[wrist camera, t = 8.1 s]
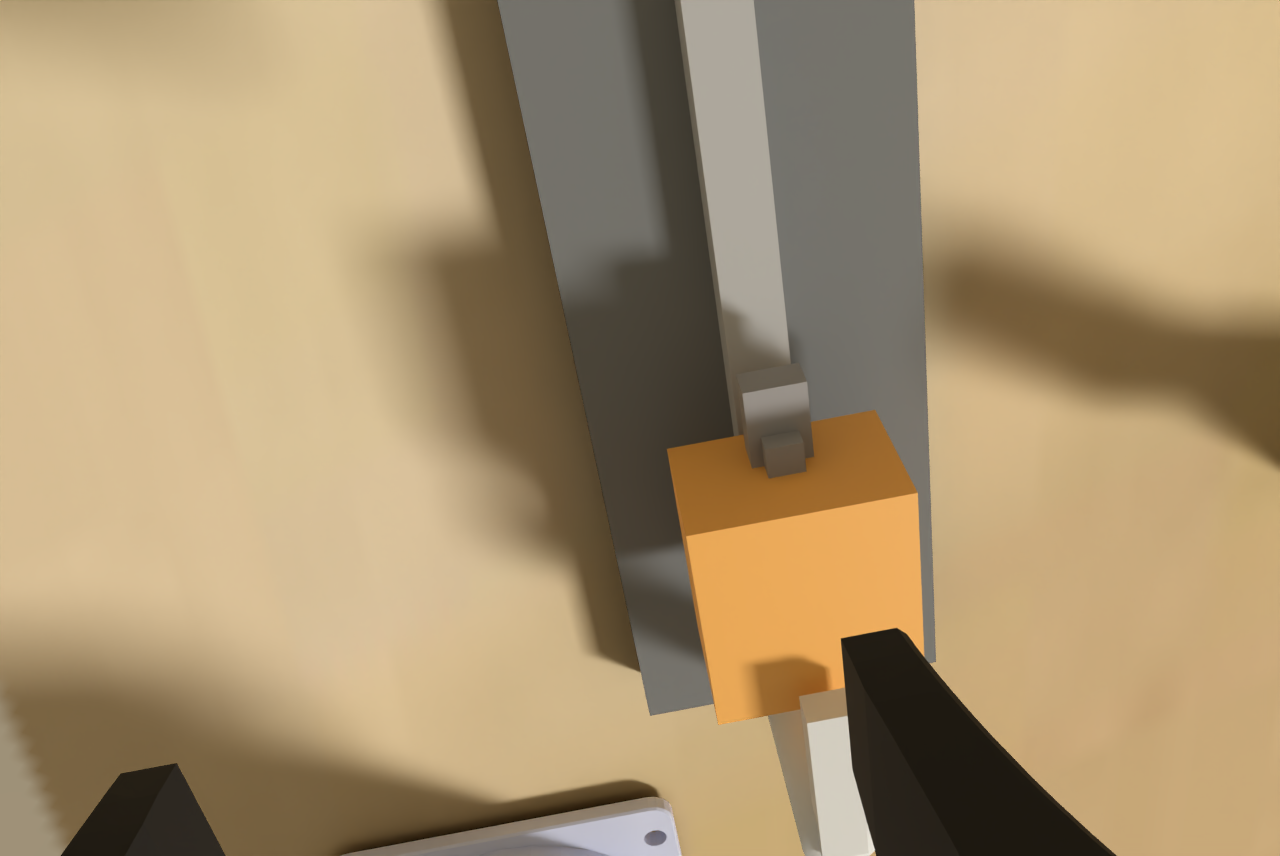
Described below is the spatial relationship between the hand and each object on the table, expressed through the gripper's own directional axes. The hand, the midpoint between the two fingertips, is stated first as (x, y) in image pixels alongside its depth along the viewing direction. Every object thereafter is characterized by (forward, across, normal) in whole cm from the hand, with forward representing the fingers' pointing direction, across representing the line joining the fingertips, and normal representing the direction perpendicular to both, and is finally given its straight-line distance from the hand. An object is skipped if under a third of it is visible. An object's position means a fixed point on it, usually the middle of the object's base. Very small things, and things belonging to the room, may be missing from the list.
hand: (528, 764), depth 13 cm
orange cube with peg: (+7, -4, +3) cm, 9 cm away
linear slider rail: (+10, -4, +1) cm, 11 cm away
